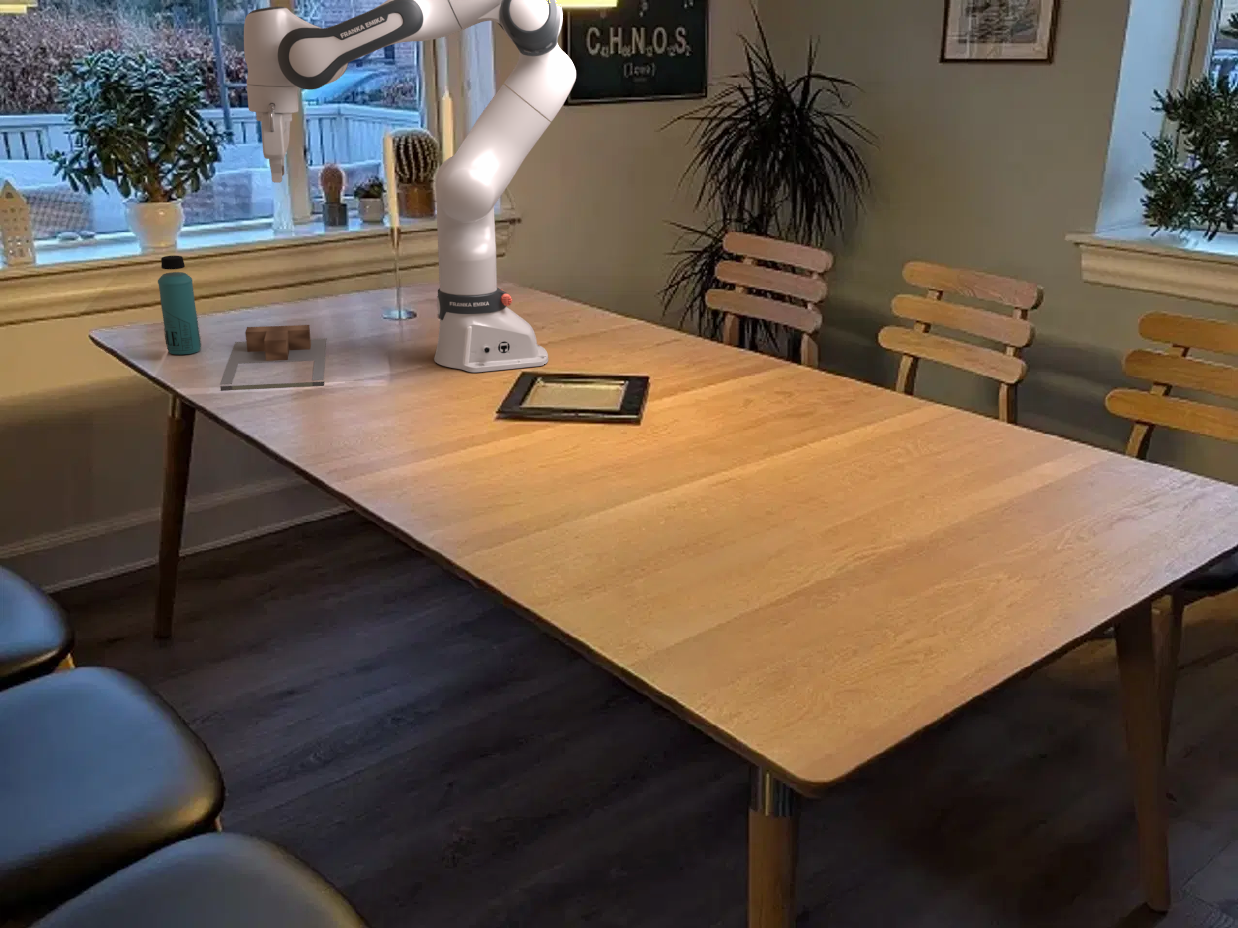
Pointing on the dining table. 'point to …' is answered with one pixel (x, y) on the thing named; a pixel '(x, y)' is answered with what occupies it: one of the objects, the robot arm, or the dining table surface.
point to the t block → (278, 340)
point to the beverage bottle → (178, 308)
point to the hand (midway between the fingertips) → (278, 178)
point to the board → (242, 357)
